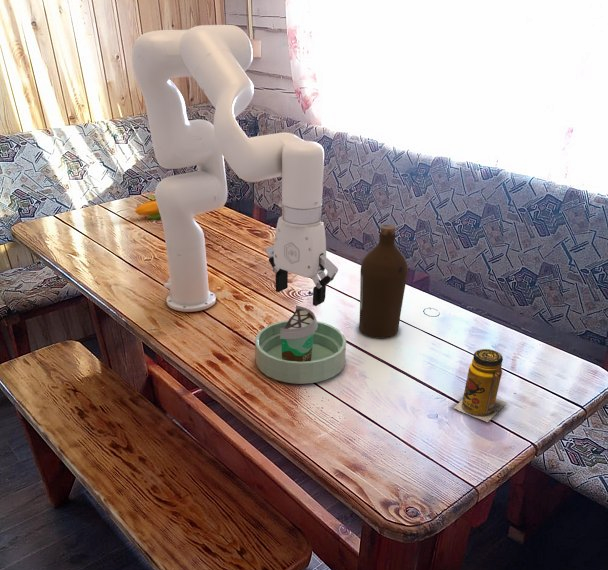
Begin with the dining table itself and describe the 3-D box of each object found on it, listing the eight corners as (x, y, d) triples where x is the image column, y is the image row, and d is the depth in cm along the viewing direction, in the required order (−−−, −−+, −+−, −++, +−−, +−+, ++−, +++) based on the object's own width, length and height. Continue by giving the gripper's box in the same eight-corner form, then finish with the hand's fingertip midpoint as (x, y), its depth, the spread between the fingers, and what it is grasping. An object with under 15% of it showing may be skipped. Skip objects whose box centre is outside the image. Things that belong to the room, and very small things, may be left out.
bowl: (237, 365, 128) (236, 342, 125) (293, 332, 141) (293, 311, 138) (308, 396, 118) (308, 373, 115) (361, 359, 131) (363, 337, 128)
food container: (308, 376, 124) (309, 333, 118) (280, 371, 125) (279, 329, 119) (322, 348, 133) (324, 308, 128) (296, 344, 135) (296, 304, 129)
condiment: (452, 408, 116) (463, 355, 109) (472, 390, 121) (483, 339, 114) (487, 423, 112) (500, 369, 105) (506, 404, 117) (520, 351, 110)
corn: (189, 192, 211) (138, 201, 201) (192, 213, 215) (142, 224, 205) (179, 189, 216) (128, 198, 206) (182, 210, 220) (132, 220, 210)
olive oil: (405, 324, 145) (417, 222, 131) (394, 343, 137) (406, 237, 123) (363, 316, 148) (371, 216, 134) (350, 335, 140) (357, 231, 126)
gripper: (254, 207, 113) (256, 290, 123) (326, 228, 105) (322, 315, 114) (279, 199, 118) (279, 279, 128) (350, 218, 109) (344, 303, 119)
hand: (299, 296), depth 121 cm, fingers open, 9 cm apart
